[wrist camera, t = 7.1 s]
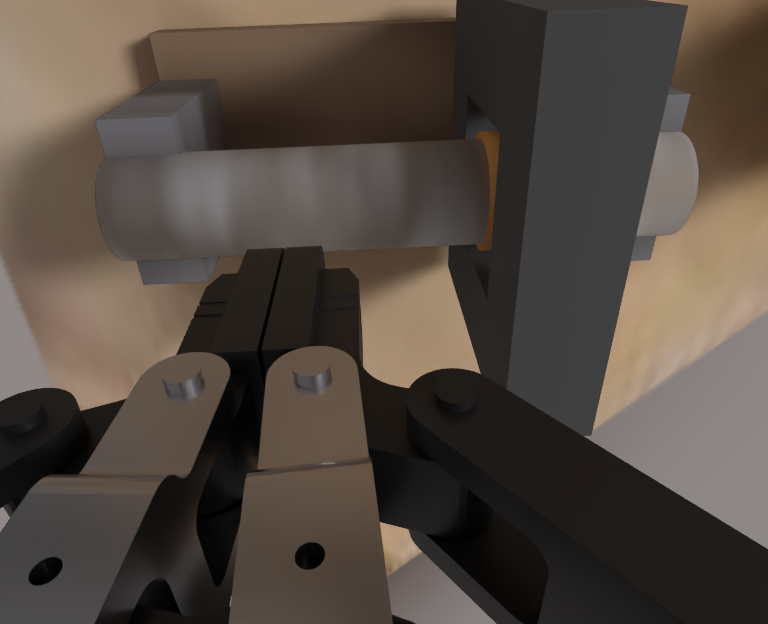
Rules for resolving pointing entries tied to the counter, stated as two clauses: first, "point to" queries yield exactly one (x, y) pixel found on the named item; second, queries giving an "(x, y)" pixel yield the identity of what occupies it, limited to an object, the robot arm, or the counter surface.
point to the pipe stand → (318, 149)
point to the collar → (558, 183)
